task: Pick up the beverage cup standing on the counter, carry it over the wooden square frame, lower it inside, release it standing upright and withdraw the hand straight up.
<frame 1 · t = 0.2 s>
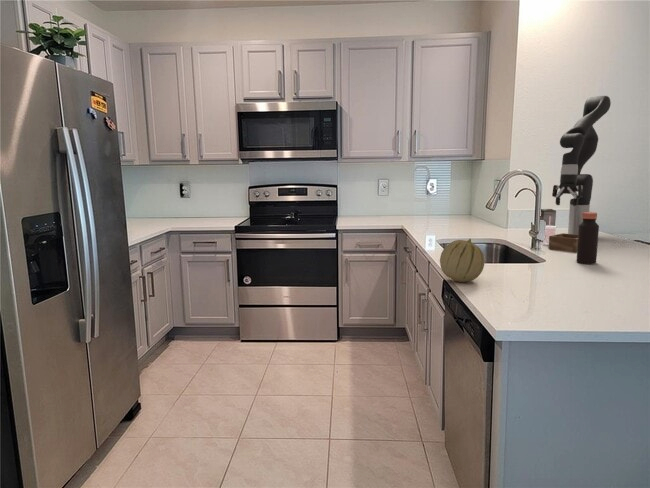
hand: (566, 205, 223), 18 cm above the counter, tool pointing down, fingers open, 8 cm apart
wooden square frame: (568, 248, 201), on the counter
beverage cup: (548, 244, 214), on the counter
coffee box: (545, 240, 225), on the counter
cantaloupe: (461, 281, 151), on the counter
bottle: (586, 263, 173), on the counter
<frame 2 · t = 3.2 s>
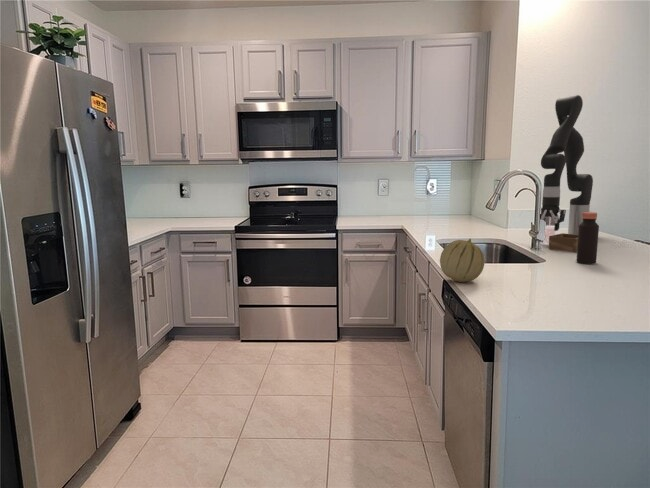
hand: (549, 229, 213), 7 cm above the counter, tool pointing down, fingers closed on beverage cup, 6 cm apart
beverage cup: (548, 244, 214), on the counter, touching gripper
everything else where it was.
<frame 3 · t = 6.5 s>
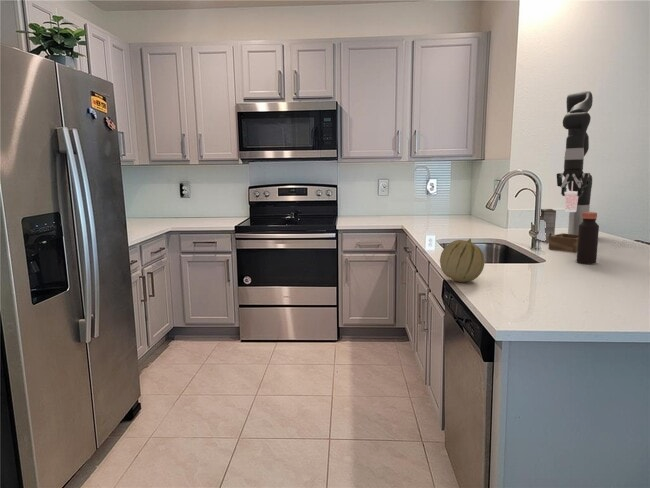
hand: (571, 195, 197), 25 cm above the counter, tool pointing down, fingers closed on beverage cup, 6 cm apart
beverage cup: (570, 212, 199), point 17 cm above the counter, touching gripper
everything else where it was.
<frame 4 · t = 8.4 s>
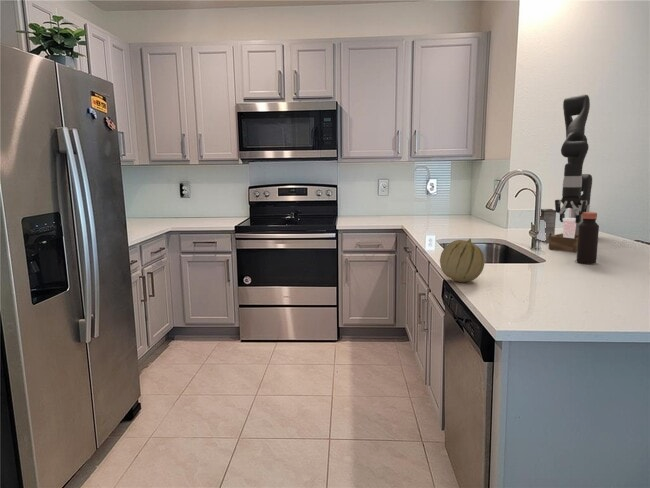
hand: (569, 222, 199), 12 cm above the counter, tool pointing down, fingers closed on beverage cup, 6 cm apart
beverage cup: (568, 238, 201), point 5 cm above the counter, touching gripper
everything else where it was.
when the fingers open (9 cm above the counter, at t = 9.7 s): beverage cup drops 2 cm, resting in wooden square frame.
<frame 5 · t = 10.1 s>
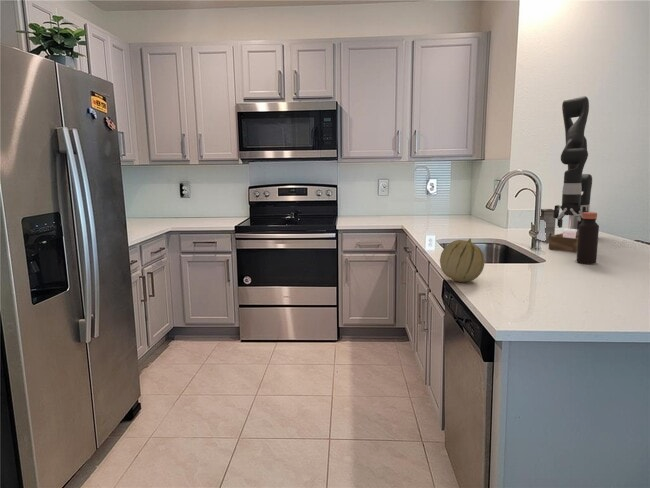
hand: (569, 228, 200), 10 cm above the counter, tool pointing down, fingers open, 8 cm apart
beverage cup: (568, 249, 201), resting in wooden square frame
everything else where it was.
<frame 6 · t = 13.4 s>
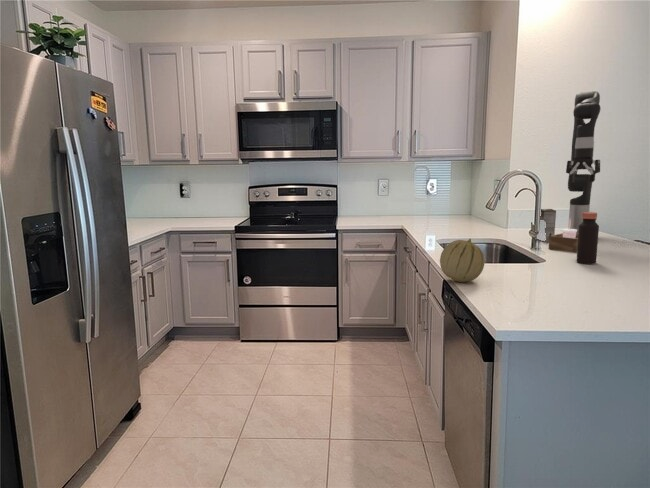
hand: (581, 182, 205), 30 cm above the counter, tool pointing down, fingers open, 8 cm apart
nothing on the counter moved.
at the end: beverage cup inside the target area on the wooden square frame (0.1 cm from its centre), point 0.0 cm above the wooden square frame's base; beverage cup tilted 0°; the gripper is holding nothing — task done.
